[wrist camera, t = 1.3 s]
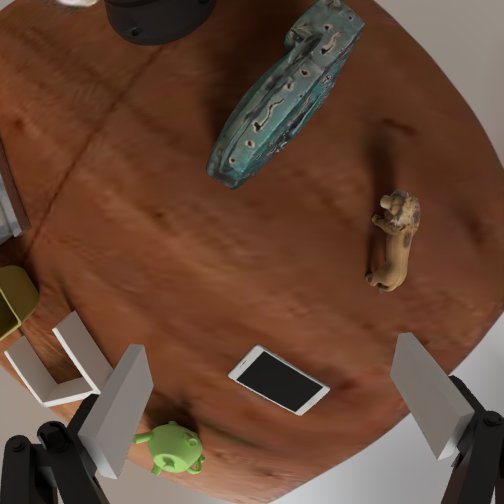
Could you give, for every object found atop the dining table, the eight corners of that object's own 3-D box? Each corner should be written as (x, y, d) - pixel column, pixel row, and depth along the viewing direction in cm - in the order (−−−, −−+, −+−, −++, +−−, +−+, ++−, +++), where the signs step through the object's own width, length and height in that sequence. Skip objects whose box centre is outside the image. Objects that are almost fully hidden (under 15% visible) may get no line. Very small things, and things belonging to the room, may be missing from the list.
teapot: (214, 453, 50) (210, 487, 42) (157, 451, 50) (148, 483, 42) (200, 413, 47) (194, 449, 39) (138, 413, 47) (125, 446, 39)
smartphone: (300, 416, 47) (226, 376, 45) (300, 414, 48) (226, 374, 45) (331, 389, 46) (257, 343, 43) (331, 386, 46) (257, 341, 44)
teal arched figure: (298, 47, 33) (335, -41, 14) (339, 76, 34) (408, 9, 15) (205, 167, 37) (159, 164, 18) (248, 197, 38) (246, 223, 19)
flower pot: (53, 300, 42) (21, 324, 33) (26, 319, 43) (-3, 343, 34) (26, 253, 40) (-10, 270, 31) (1, 276, 41) (-31, 294, 32)
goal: (21, 336, 44) (4, 352, 38) (75, 310, 42) (56, 327, 37) (57, 389, 47) (43, 407, 41) (115, 372, 45) (102, 394, 39)
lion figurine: (360, 187, 38) (388, 192, 29) (396, 184, 38) (430, 189, 29) (364, 294, 42) (388, 323, 33) (397, 288, 42) (427, 314, 33)
